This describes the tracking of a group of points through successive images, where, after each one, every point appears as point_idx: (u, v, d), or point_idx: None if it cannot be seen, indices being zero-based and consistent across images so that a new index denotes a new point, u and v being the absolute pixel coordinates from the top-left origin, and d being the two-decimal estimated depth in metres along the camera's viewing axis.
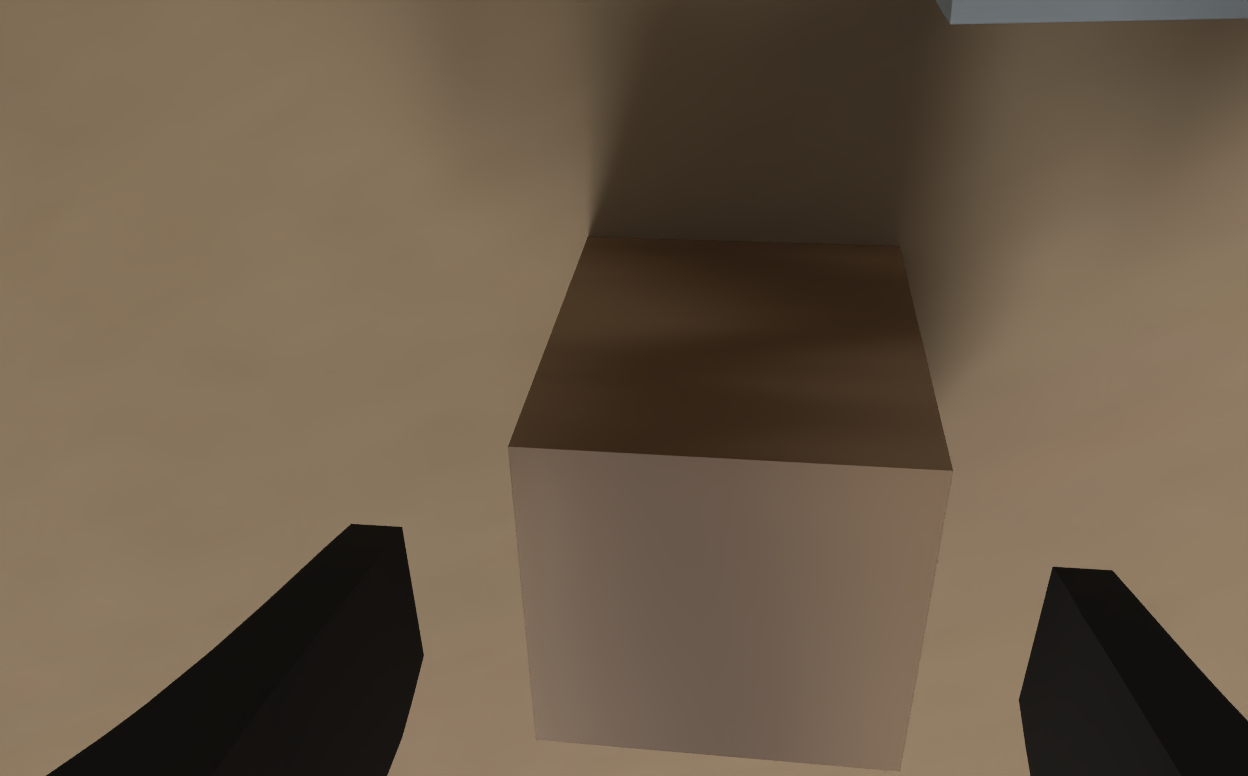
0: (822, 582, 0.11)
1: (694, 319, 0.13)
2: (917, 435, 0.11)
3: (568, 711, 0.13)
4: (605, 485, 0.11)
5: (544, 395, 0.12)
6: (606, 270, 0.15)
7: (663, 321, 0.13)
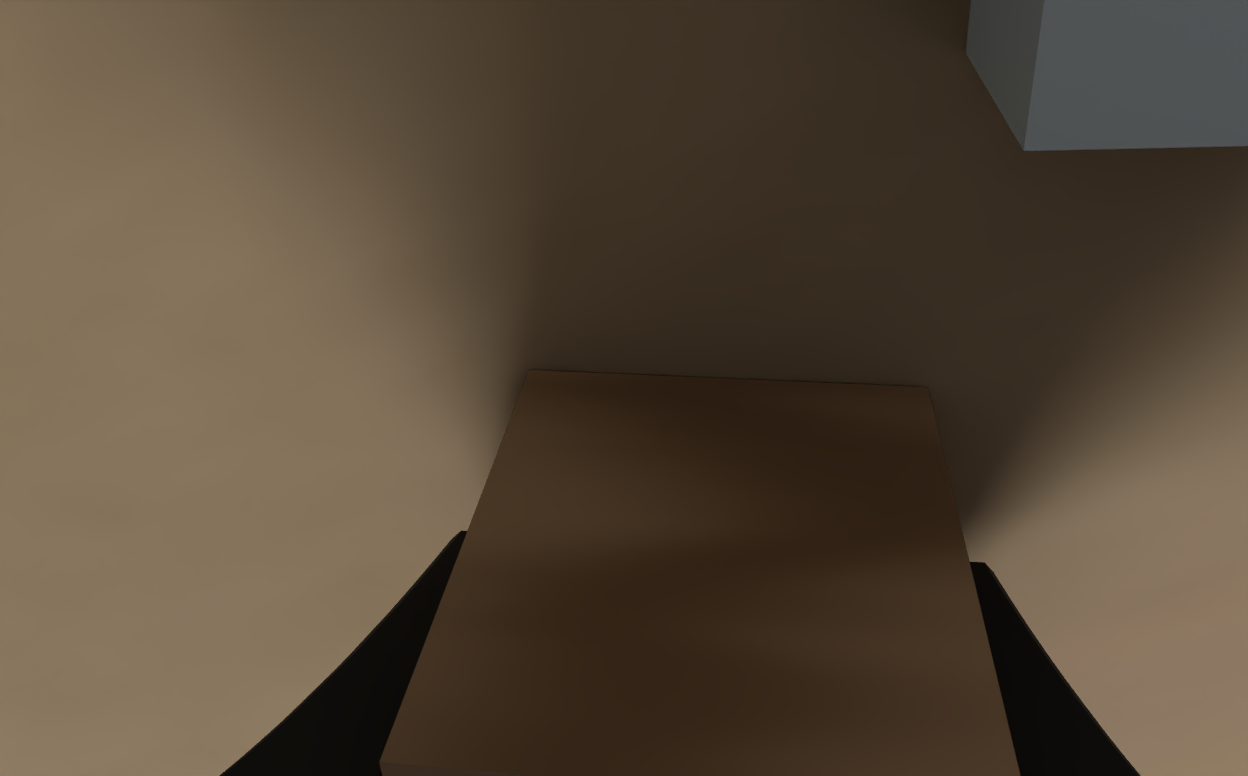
0: None
1: (660, 515, 0.10)
2: (973, 742, 0.08)
3: None
4: None
5: (442, 658, 0.08)
6: (547, 428, 0.11)
7: (617, 518, 0.10)
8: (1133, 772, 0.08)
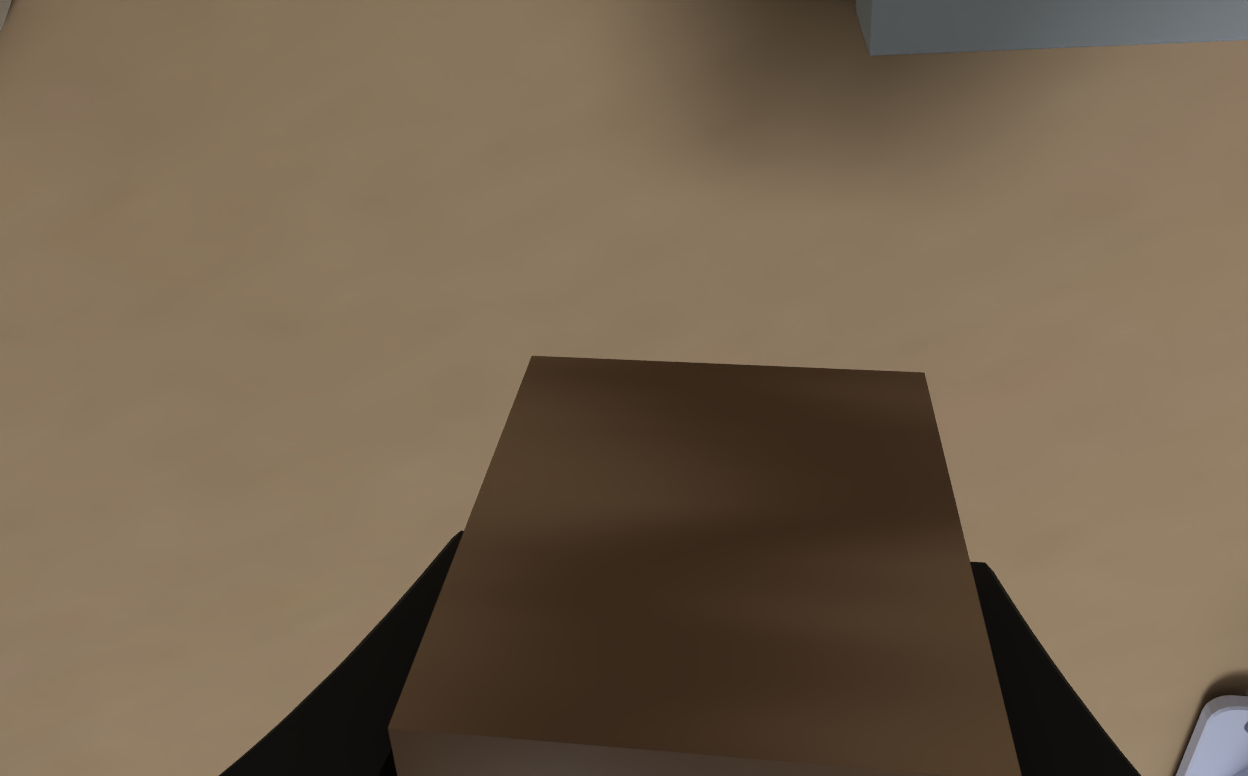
0: None
1: (661, 494, 0.10)
2: (967, 709, 0.08)
3: None
4: None
5: (449, 629, 0.09)
6: (550, 411, 0.11)
7: (618, 498, 0.10)
8: (1134, 772, 0.08)
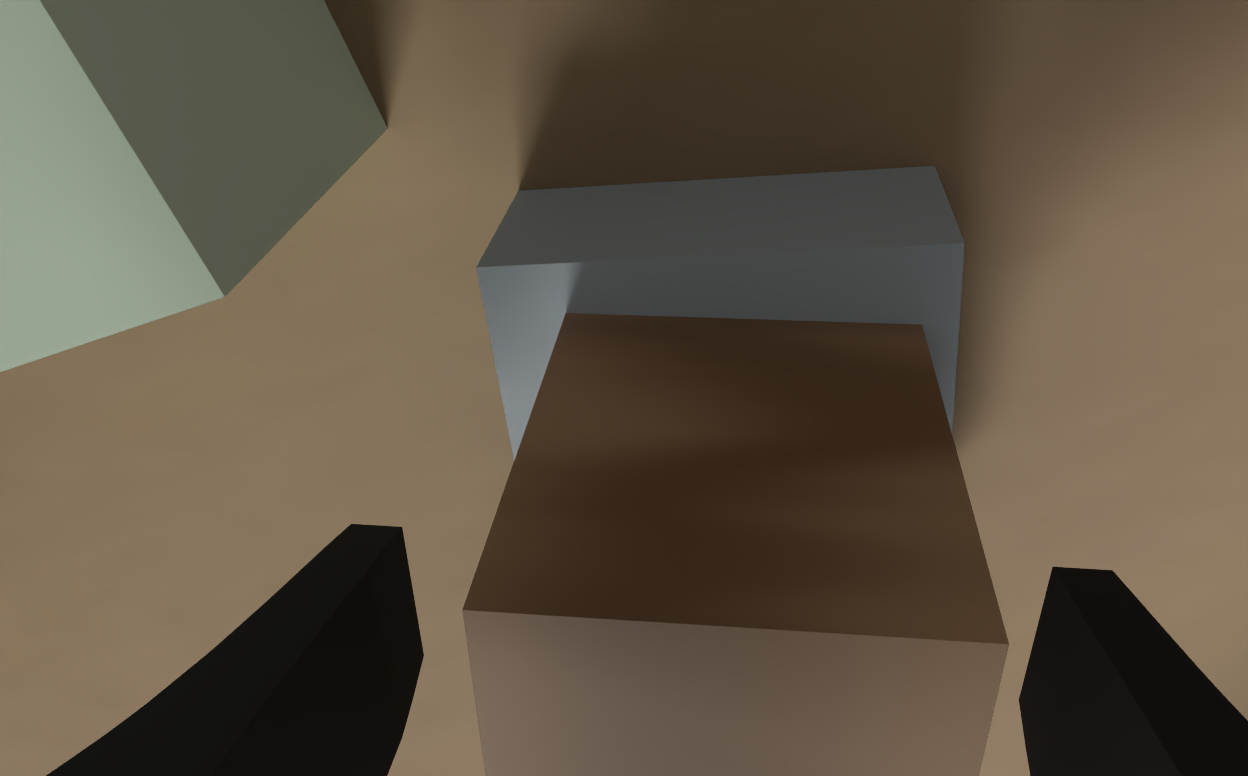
0: (844, 761, 0.09)
1: (689, 427, 0.11)
2: (961, 590, 0.09)
3: None
4: (582, 652, 0.09)
5: (509, 534, 0.10)
6: (586, 359, 0.13)
7: (651, 429, 0.11)
8: None
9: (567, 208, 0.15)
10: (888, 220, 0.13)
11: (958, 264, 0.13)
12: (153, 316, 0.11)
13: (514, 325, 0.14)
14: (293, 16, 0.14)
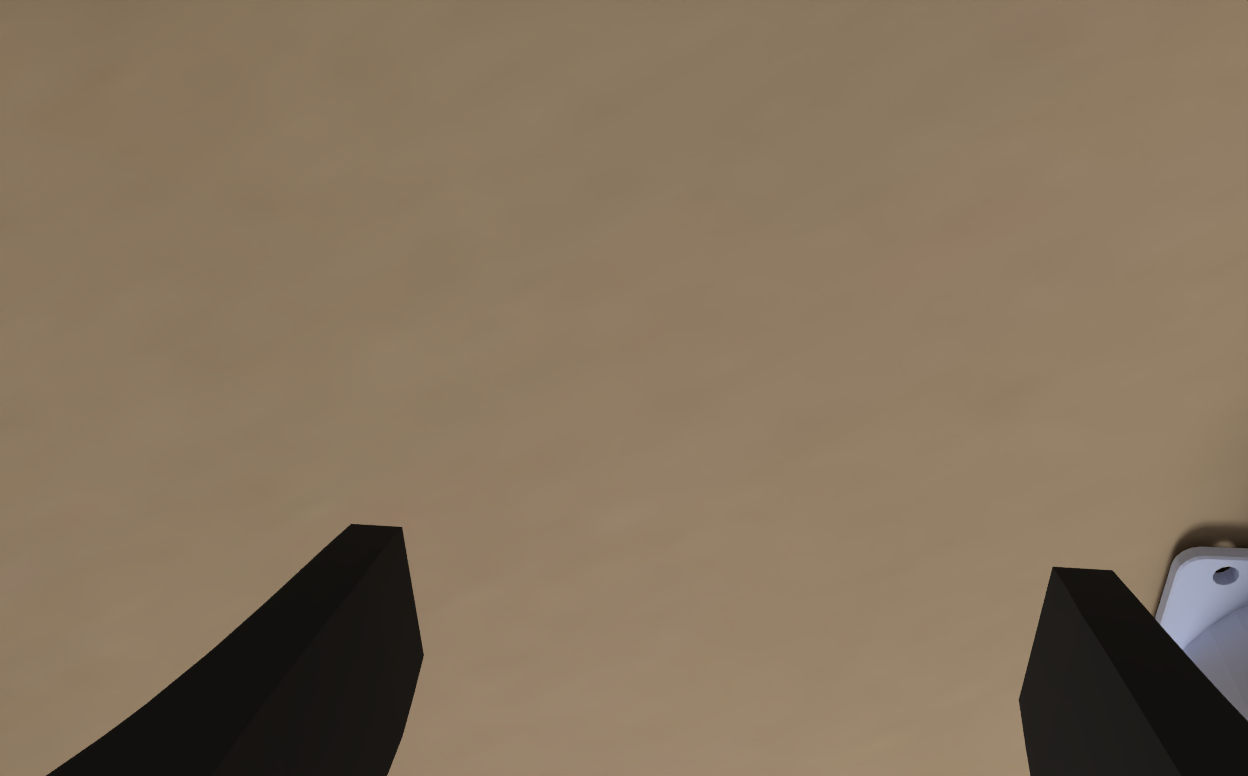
0: None
1: None
2: None
3: None
4: None
5: None
6: None
7: None
8: None
9: None
10: None
11: None
12: None
13: None
14: None
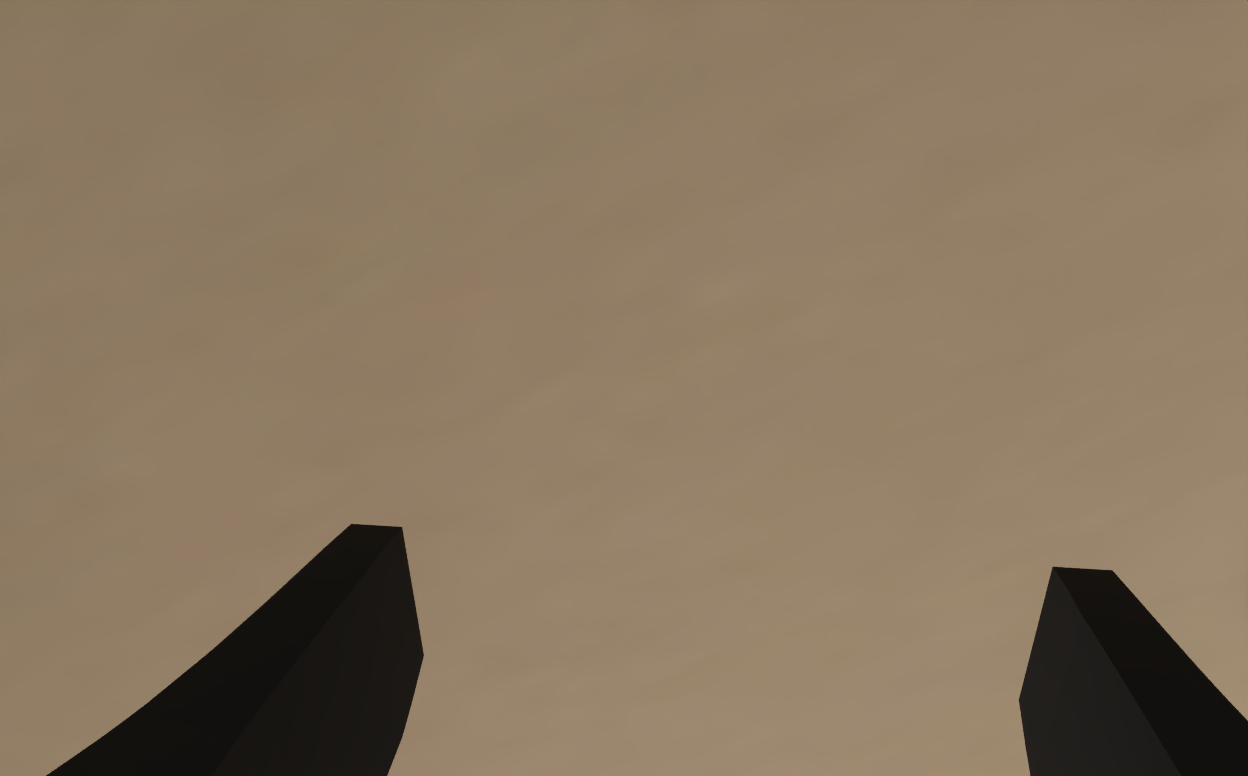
0: None
1: None
2: None
3: None
4: None
5: None
6: None
7: None
8: None
9: None
10: None
11: None
12: None
13: None
14: None
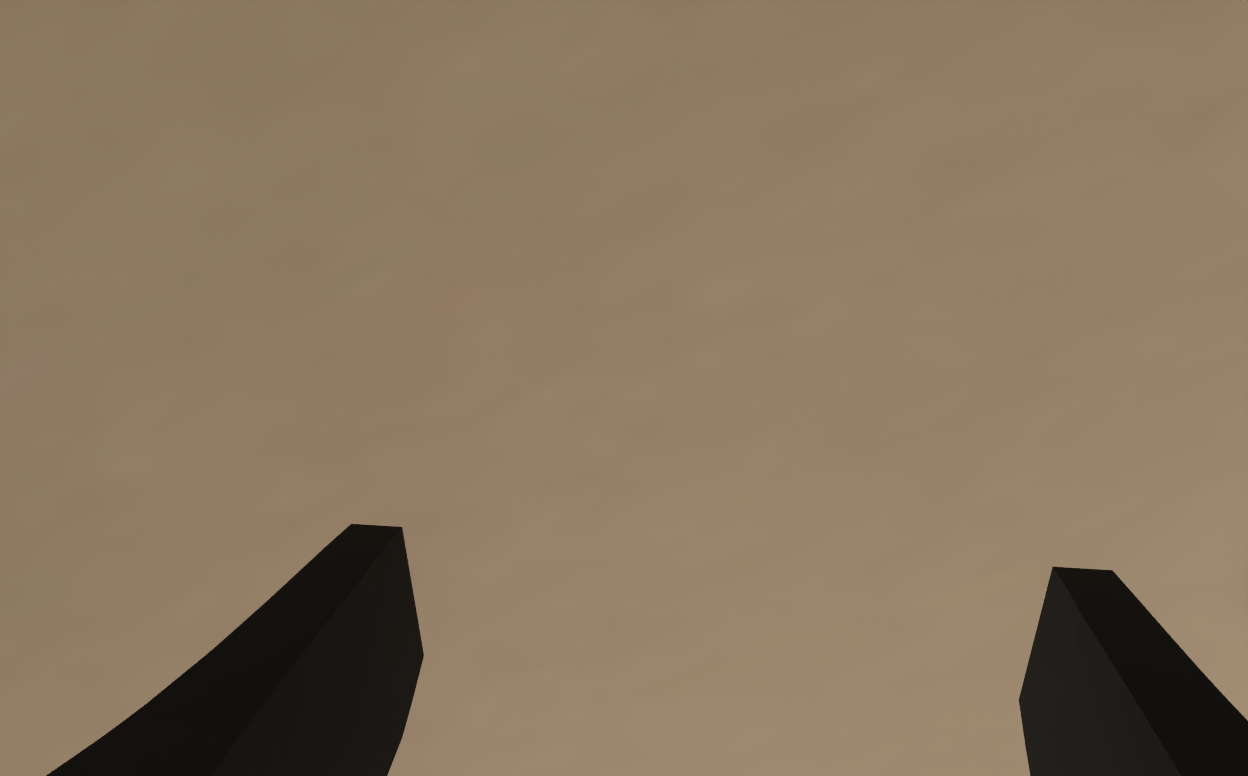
0: None
1: None
2: None
3: None
4: None
5: None
6: None
7: None
8: None
9: None
10: None
11: None
12: None
13: None
14: None
